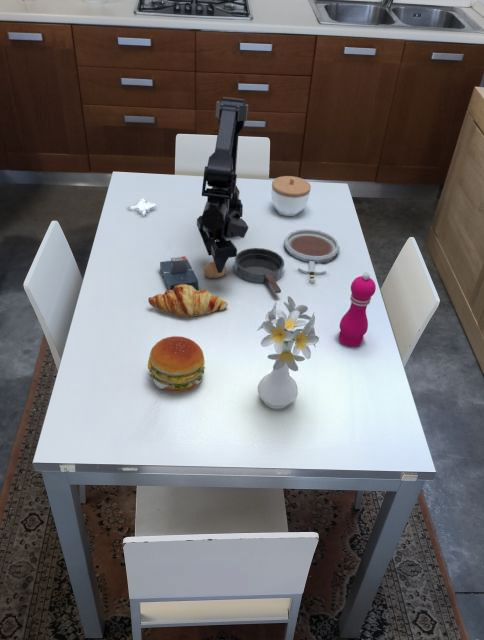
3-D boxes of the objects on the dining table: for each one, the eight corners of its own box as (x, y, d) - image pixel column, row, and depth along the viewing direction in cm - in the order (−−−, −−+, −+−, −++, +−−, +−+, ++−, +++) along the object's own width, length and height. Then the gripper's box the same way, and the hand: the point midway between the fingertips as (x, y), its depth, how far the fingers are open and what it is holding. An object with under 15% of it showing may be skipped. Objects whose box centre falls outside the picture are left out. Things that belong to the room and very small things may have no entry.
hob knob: (172, 273, 178) (172, 260, 175) (171, 270, 179) (170, 257, 176) (186, 272, 179) (187, 258, 176) (185, 269, 180) (185, 255, 177)
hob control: (159, 271, 184) (159, 261, 182) (187, 267, 186) (187, 258, 184) (169, 294, 177) (169, 284, 174) (198, 290, 179) (199, 281, 176)
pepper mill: (366, 335, 170) (384, 269, 155) (361, 351, 165) (379, 284, 150) (339, 328, 171) (355, 262, 157) (333, 344, 166) (349, 276, 152)
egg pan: (228, 261, 190) (228, 250, 188) (272, 256, 194) (274, 245, 191) (243, 287, 181) (244, 277, 179) (289, 281, 185) (291, 271, 182)
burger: (183, 404, 147) (183, 371, 140) (136, 381, 151) (134, 348, 144) (215, 373, 155) (217, 340, 148) (169, 352, 160) (169, 319, 152)
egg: (201, 273, 185) (202, 260, 182) (222, 271, 186) (223, 257, 183) (205, 282, 182) (206, 268, 179) (227, 279, 184) (228, 266, 180)
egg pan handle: (264, 277, 181) (264, 274, 181) (270, 276, 182) (270, 273, 181) (274, 293, 176) (275, 290, 175) (280, 292, 176) (281, 290, 176)
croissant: (225, 314, 178) (226, 284, 175) (229, 319, 168) (230, 288, 166) (148, 312, 175) (148, 282, 173) (148, 317, 166) (148, 285, 163)
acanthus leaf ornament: (142, 201, 212) (142, 196, 211) (158, 208, 210) (158, 203, 208) (127, 209, 208) (127, 204, 206) (143, 216, 205) (143, 211, 204)
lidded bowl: (263, 214, 211) (267, 181, 203) (276, 198, 220) (280, 166, 212) (299, 223, 209) (304, 191, 201) (311, 207, 217) (316, 175, 209)
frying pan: (283, 275, 183) (285, 225, 202) (282, 283, 185) (283, 233, 204) (342, 281, 183) (338, 230, 202) (340, 289, 185) (337, 238, 204)
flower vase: (255, 431, 143) (267, 342, 125) (246, 376, 155) (255, 288, 137) (312, 430, 144) (332, 341, 126) (299, 375, 157) (315, 288, 138)
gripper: (257, 226, 166) (252, 278, 177) (235, 192, 178) (232, 244, 189) (216, 230, 163) (213, 283, 174) (197, 196, 175) (195, 247, 186)
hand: (215, 263), depth 181 cm, fingers open, 9 cm apart
